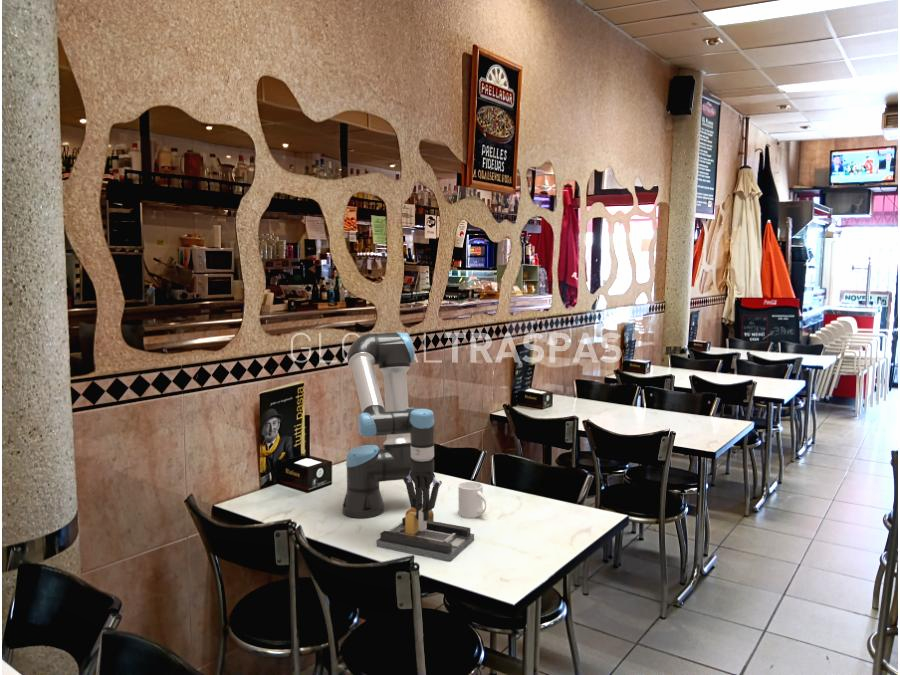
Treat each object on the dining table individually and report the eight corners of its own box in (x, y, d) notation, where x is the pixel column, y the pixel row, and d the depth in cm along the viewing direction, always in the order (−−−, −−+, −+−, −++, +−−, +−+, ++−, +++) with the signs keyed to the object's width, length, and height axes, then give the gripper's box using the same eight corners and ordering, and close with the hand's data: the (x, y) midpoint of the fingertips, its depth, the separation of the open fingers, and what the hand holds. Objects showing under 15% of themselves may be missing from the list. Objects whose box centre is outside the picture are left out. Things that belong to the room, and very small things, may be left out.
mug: (476, 523, 242) (476, 493, 241) (453, 514, 251) (453, 485, 249) (494, 517, 247) (494, 487, 246) (470, 508, 256) (470, 479, 255)
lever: (404, 535, 225) (404, 515, 225) (411, 531, 229) (411, 511, 229) (413, 537, 224) (412, 516, 223) (419, 532, 228) (419, 512, 227)
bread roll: (435, 530, 245) (439, 507, 247) (426, 527, 236) (429, 503, 238) (409, 527, 248) (413, 504, 251) (399, 524, 239) (403, 500, 241)
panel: (376, 546, 222) (376, 533, 222) (404, 526, 238) (404, 515, 238) (450, 561, 211) (450, 548, 211) (474, 539, 227) (474, 527, 227)
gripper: (398, 458, 222) (399, 530, 224) (435, 463, 216) (435, 537, 219) (409, 452, 228) (410, 522, 231) (445, 457, 223) (446, 528, 226)
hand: (422, 529), depth 225 cm, fingers closed
